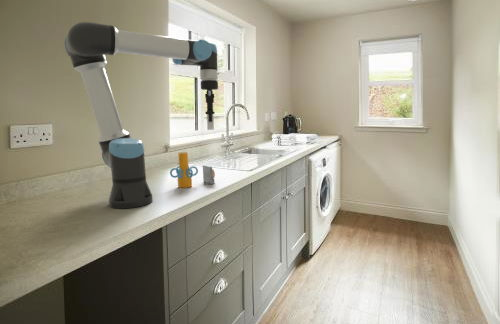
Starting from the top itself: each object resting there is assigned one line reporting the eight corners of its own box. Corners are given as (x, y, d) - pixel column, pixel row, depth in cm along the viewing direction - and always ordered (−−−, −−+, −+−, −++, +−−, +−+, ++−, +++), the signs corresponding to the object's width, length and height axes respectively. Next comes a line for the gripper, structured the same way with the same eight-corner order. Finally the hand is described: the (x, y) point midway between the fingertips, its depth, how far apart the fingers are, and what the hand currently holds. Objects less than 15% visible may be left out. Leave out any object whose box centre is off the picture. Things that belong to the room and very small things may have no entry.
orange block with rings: (191, 189, 147) (189, 154, 145) (168, 189, 149) (165, 154, 147) (201, 183, 159) (199, 150, 156) (179, 183, 161) (177, 151, 158)
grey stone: (210, 184, 156) (209, 167, 154) (203, 181, 162) (202, 164, 161) (216, 183, 157) (216, 166, 156) (209, 180, 164) (208, 164, 163)
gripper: (218, 77, 141) (219, 130, 144) (217, 82, 166) (218, 127, 169) (199, 77, 141) (201, 130, 144) (201, 82, 165) (202, 127, 168)
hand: (210, 129), depth 156 cm, fingers open, 13 cm apart
